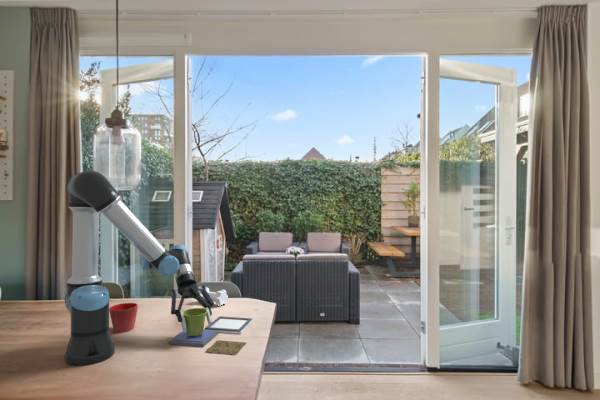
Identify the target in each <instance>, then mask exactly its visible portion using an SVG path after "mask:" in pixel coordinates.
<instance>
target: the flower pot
mask: <svg viewBox="0 0 600 400" xmlns="http://www.w3.org/2000/svg"><path fill="white" fill-rule="evenodd" d="M138 307H139V305H138V303H135V302H124V303H117V304H114V305H112V306H109V317H110V320H111V324H112V328H113V331H114V332H115V333H125V332H130V331H132V330H134V328H135V326H136V325H135V324H136V320H137V319H136V318H137V315H138Z"/></svg>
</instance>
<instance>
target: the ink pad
mask: <svg viewBox="0 0 600 400" xmlns="http://www.w3.org/2000/svg"><path fill="white" fill-rule="evenodd" d="M219 334H220V332H219V330H206V329H205V328H204V330H203V333H202V334H201V335H199V336H188V335H187V331H186V329H185V330H184V331H183V330H182V331H181V332H179V333H178V334H176V335H175V336H174V337H172V338H171V339H169V340H168V345H174V344H176V345H177V346H187V345H188V346H189V347H200V348H204V347H205V346H206V345H208V344H209V343H210V342H211V341H212V340H213V339H214V338H216V337H217V335H219Z"/></svg>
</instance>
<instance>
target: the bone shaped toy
mask: <svg viewBox="0 0 600 400" xmlns="http://www.w3.org/2000/svg"><path fill="white" fill-rule="evenodd" d="M205 288H206V291H207V292H208V294H209V296H210V297H211V299H212V301H213V302H214V304H215V306H217V305H219V306H220V305H222V306H224V305H223V304H225V305H227V300H228V298H229V296H228V294H227V290H226V289H220V290H217V291H216V292H215V291H210V288H209V287H207V286H205ZM198 292H199V294H200V295H201V296H202V297H203V295H202V293H201V292H200V290H198ZM203 298H204V297H203ZM204 299H205V298H204ZM220 307H221V306H220Z"/></svg>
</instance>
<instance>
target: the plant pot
mask: <svg viewBox="0 0 600 400" xmlns="http://www.w3.org/2000/svg"><path fill="white" fill-rule="evenodd" d="M182 312H183V315H184V319H185V323H186V331H187V335H188V336H199V335H201V334H202V333H203V330H204V329H205V321H206V313H207V310H206V309H205V308H204V307H202V308H201V307H195V308H194V307H193V308H188V309H185V310H184V311H182Z"/></svg>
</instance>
